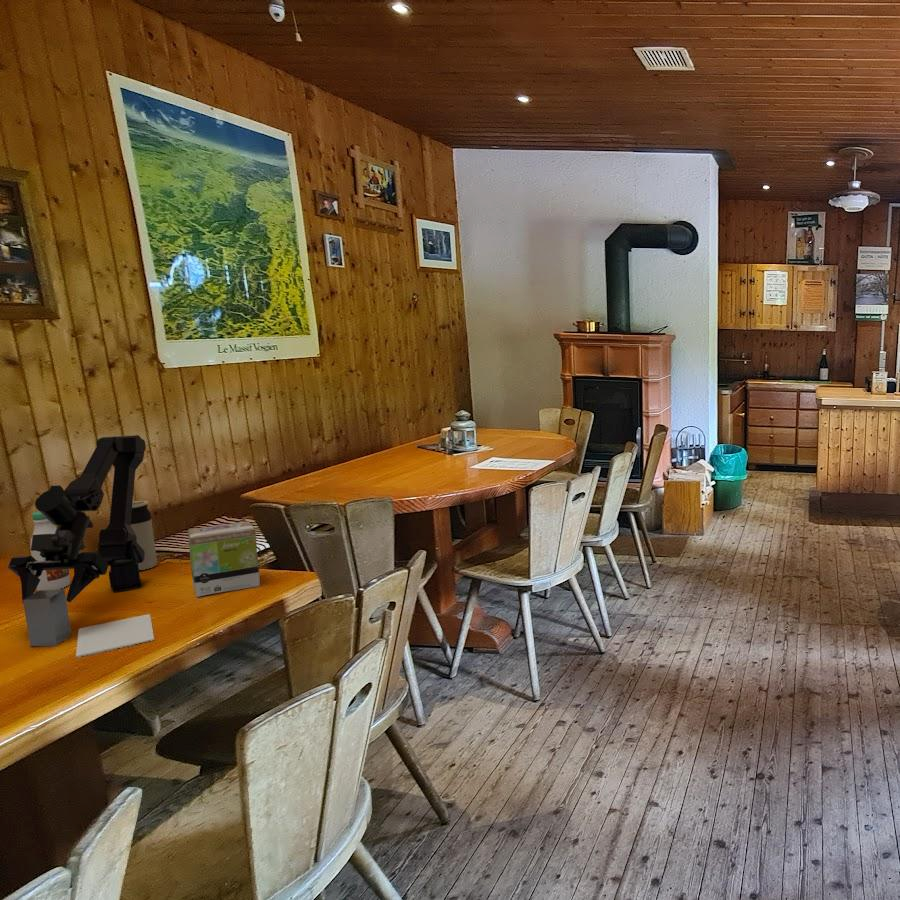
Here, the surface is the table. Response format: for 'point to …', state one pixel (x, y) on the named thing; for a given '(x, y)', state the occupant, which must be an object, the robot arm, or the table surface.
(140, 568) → the travel mug
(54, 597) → the tin
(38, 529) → the milk bottle
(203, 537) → the tea box
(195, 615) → the table surface
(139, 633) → the mat
